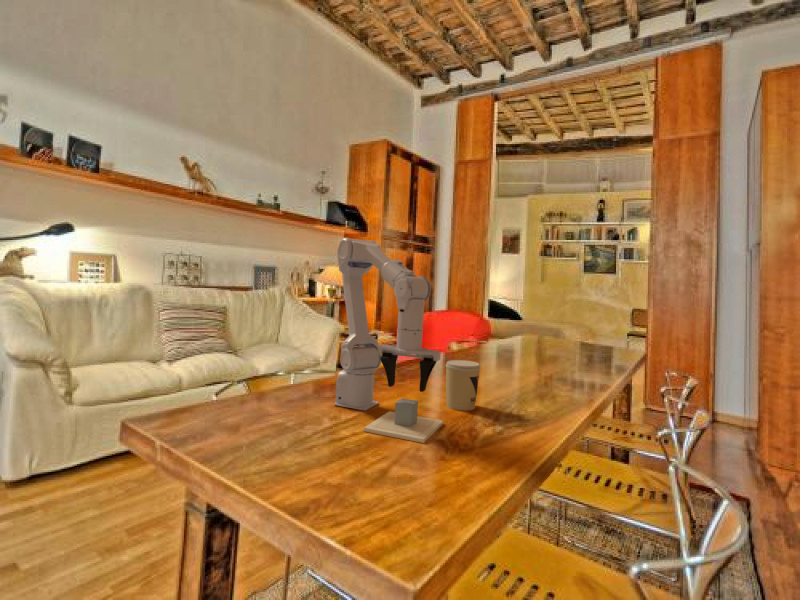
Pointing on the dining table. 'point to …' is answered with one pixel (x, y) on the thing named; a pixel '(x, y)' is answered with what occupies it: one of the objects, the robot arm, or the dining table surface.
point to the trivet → (404, 428)
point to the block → (406, 412)
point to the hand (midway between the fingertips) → (406, 388)
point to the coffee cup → (461, 384)
